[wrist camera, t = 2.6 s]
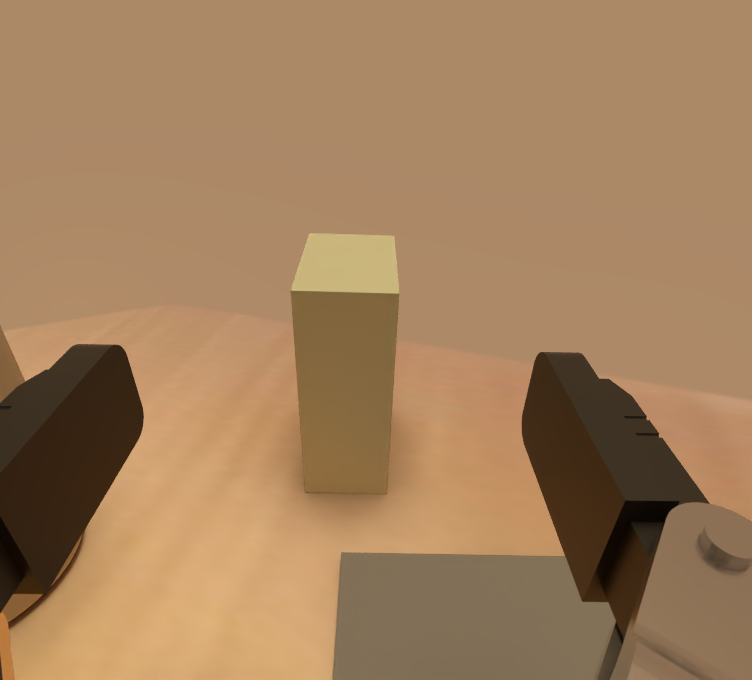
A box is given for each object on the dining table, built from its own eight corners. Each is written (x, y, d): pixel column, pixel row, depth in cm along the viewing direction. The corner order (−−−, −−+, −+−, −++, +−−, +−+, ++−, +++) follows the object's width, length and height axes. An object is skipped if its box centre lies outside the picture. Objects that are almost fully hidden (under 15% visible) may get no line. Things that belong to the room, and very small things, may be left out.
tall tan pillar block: (305, 492, 24) (290, 290, 18) (317, 411, 29) (309, 233, 23) (386, 493, 24) (399, 293, 18) (384, 413, 29) (394, 235, 23)
